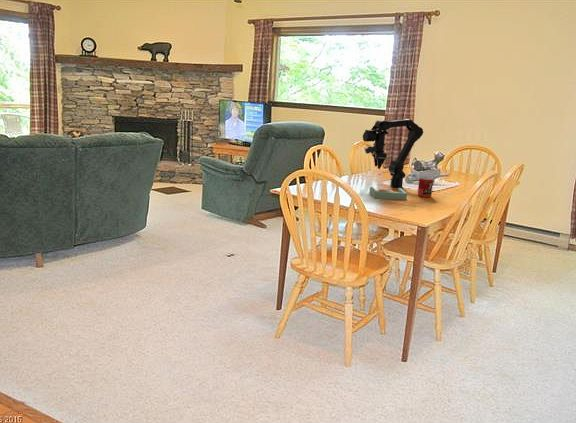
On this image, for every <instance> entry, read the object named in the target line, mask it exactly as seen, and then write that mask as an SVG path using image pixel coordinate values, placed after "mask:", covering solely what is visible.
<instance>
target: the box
mask: <svg viewBox="0 0 576 423" xmlns="http://www.w3.org/2000/svg"><path fill="white" fill-rule="evenodd" d="M397 188H398V189H397V191H396V192H395V191H393V192H379V191H378V190H376V189H375V188H374V187H373V186H369V194H370V196H372V198H373V199H380V200H382V199H384V200H404V201H405V200H407V198H408V193H407V192H406V191H405V190H404V189H402V188H401V187H397Z"/></svg>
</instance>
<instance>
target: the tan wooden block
mask: <svg viewBox="0 0 576 423" xmlns="http://www.w3.org/2000/svg"><path fill="white" fill-rule="evenodd" d="M378 192H394V191H393V190H392V189H382V188H381V189H379V190H378Z"/></svg>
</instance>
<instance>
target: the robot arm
mask: <svg viewBox="0 0 576 423" xmlns="http://www.w3.org/2000/svg"><path fill="white" fill-rule="evenodd" d="M401 127H405V128H406V130H407V131H408V133H407V140H406V141H405V143H404V145H403V147H402V148H401V150H400V152H399V154H398V156H397V157H396V159H395V160H392V159H391V161H390V164H389V165H388V172H389V174H390V176H391V178H390V183H389V185H390V186H391V187H392V188H401V189H402V188H404V187H403V181H404V178H405V177H406V176H407V174H406V173H405V172H404V171H403V170H404V166H405V165H404V164H405V161H406V160H407V158H408V156H409V154H410V152H411V150H413V149H412V148H413V147H414V144H415V143H416V142H417V141H418V140H419V139H421V137H422V136H423V134H424V130H423V127H421V126H419V124H417V123H415V122H414V121H413V120H412V119H410V118H405V119H395V120H385V119H384V120H382V119H377V120H376V121H375V123H374V125H373V126H372V128H371V129H365V131H364V132H363V133H362V140H363V142H367V143H368V142H371V143H372V142H373V143H372V144H373V145H370V146H366V147H364V152H365V154H370V155H371V156H372V158H373V163H374V167H375V168H377V169H378V170H380V169H381V168H382V166H383V164H384V162H385V160H387V157H388V155H387V153H386V152H385V146H386V143H385V140H386V135H389V134H390V133H389V132H388V130H390V129H392V128H401Z"/></svg>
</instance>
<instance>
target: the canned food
mask: <svg viewBox="0 0 576 423" xmlns="http://www.w3.org/2000/svg"><path fill="white" fill-rule="evenodd" d="M433 185H434V177H432V176H427V175H422V176H419V178H418V188H417V197H420V198H424V199H429V198H432V194H433Z"/></svg>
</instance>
